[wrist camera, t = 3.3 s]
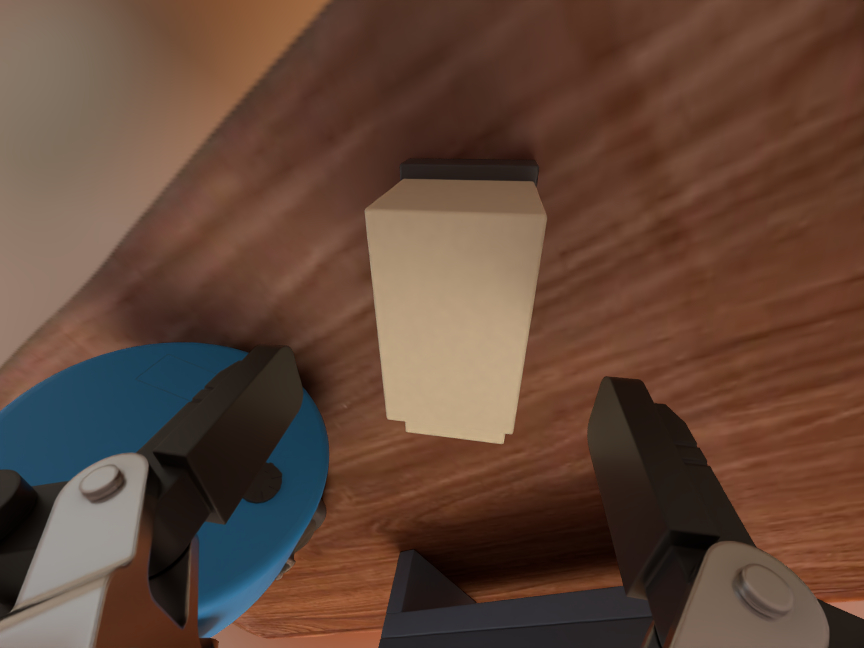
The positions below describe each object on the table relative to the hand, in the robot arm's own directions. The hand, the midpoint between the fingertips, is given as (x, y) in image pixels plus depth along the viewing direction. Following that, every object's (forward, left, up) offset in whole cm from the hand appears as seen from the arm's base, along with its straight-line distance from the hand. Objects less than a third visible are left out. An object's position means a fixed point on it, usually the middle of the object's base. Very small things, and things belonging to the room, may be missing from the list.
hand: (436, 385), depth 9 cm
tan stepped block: (0, +2, -8) cm, 8 cm away
